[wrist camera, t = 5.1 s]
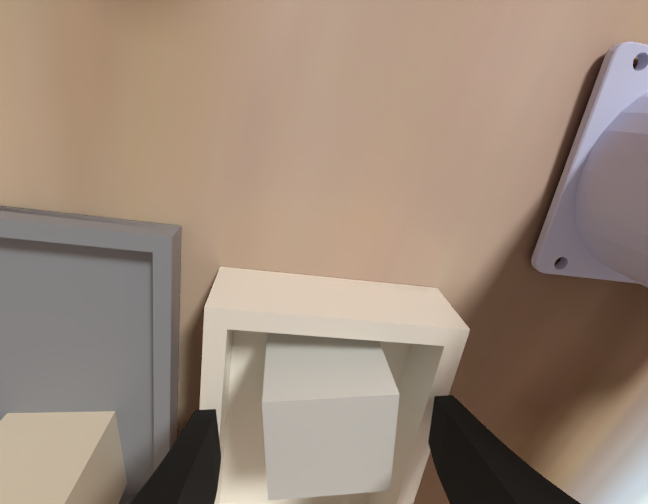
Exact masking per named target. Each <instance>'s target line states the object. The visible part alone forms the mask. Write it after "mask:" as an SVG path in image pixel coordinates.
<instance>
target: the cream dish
mask: <svg viewBox="0 0 648 504" xmlns="http://www.w3.org/2000/svg"><path fill="white" fill-rule="evenodd" d="M267 332H268V333H281V334H294V335H307V336H319V337H332V338H345V339H358V340H371V341H379V342H380V345H381V347H382V350H383V352H384V355H385V358H386V360H387V363H388V365H389V368H390V371H391V373H392V376H393V378H394V381H395V384H396V386H397V389H398V391H399V394H400V396H399V406H398V416H397V426H396V436H395V446H394V456H393V466H392V477H391V487H390V491H380V492H368V493H356V494H343V495H331V496H319V497H306V498H294V499H282V500H269V501H268V490H267V474H266V459H265V443H264V428H263V412H262V395H263V382H264V370H265V357H266V345H267ZM469 332H470V329H469V327H468V326H467V325H466V324H465V322H464V321H463V320H462V319H461V317H460V316H459V315H458V314H457V312H456V311H455V310H454V309H453V307H452V306H451V305H450V304H449V302H448V301H447V300H446V299H445V297H444V296H443V295H442V294H441V292H440V291H439V290H438V289H437V288H433V287H423V286H412V285H402V284H392V283H382V282H372V281H362V280H352V279H341V278H331V277H321V276H311V275H301V274H291V273H281V272H271V271H260V270H250V269H240V268H230V267H220V268H219V271H218V274H217V276H216V279H215V281H214V284H213V286H212V289H211V291H210V294H209V296H208V299H207V302H206V304H205V307H204V324H203V346H202V367H201V389H200V410H209V409H216V415H217V423H218V432H219V440H220V449H221V465H220V473H219V481H218V489H217V494H216V499H215V503H214V504H413V503H414V500H415V497H416V494H417V491H418V488H419V485H420V482H421V478H422V475H423V472H424V469H425V466H426V463H427V460H428V457H429V454H430V451H431V450H430V447H429V444H428V440H429V433H430V426H431V418H432V411H433V404H434V397H435V396H447V395H449V393H450V390H451V387H452V384H453V381H454V378H455V375H456V372H457V368H458V365H459V362H460V359H461V356H462V353H463V350H464V347H465V344H466V341H467V338H468V335H469Z"/></svg>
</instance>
